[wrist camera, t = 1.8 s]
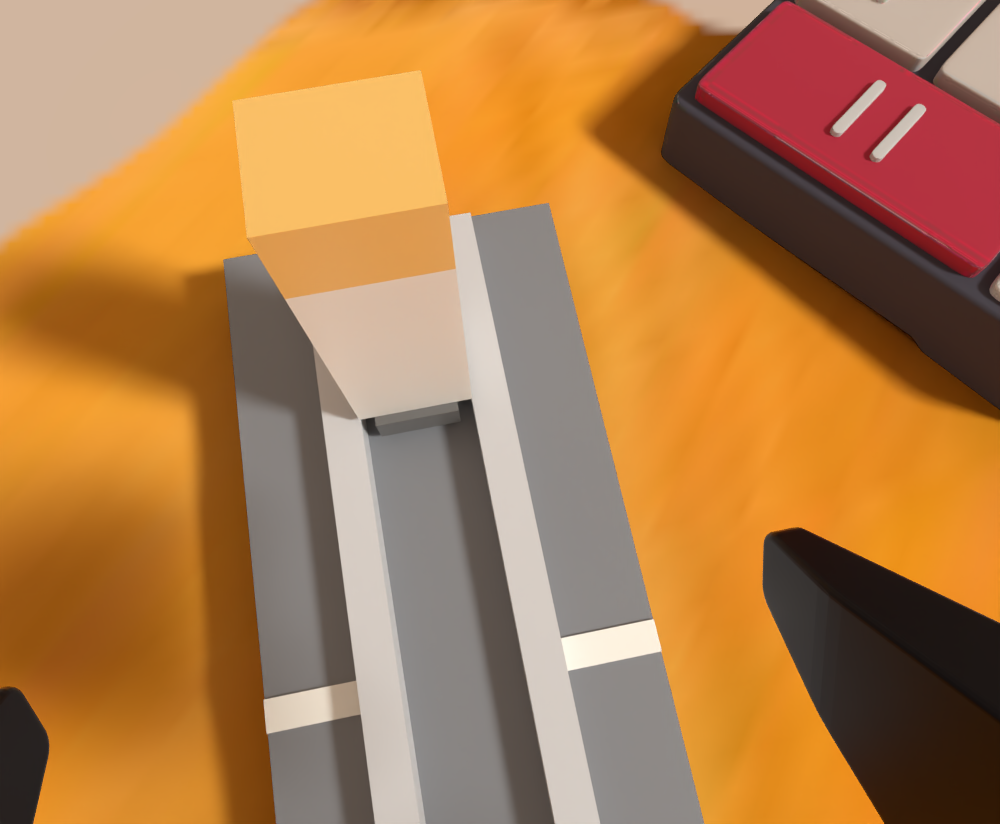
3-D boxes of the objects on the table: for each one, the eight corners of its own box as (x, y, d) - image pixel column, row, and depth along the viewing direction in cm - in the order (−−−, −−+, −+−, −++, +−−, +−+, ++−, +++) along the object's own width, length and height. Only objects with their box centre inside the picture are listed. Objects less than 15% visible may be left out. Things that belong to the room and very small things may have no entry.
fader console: (690, 833, 20) (723, 863, 17) (309, 918, 19) (275, 965, 16) (545, 237, 25) (550, 183, 22) (245, 290, 24) (210, 242, 22)
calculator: (877, -114, 25) (1330, 122, 21) (830, -4, 29) (1203, 211, 25) (671, 80, 23) (1140, 387, 19) (651, 171, 27) (1033, 439, 23)
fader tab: (475, 418, 21) (450, 217, 11) (367, 439, 20) (248, 253, 11) (456, 321, 22) (418, 58, 12) (352, 340, 21) (230, 87, 12)
